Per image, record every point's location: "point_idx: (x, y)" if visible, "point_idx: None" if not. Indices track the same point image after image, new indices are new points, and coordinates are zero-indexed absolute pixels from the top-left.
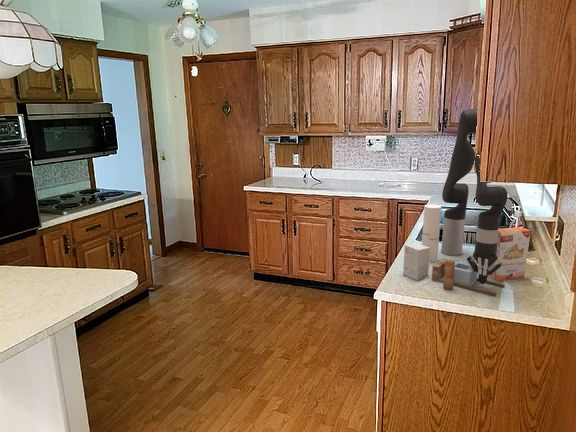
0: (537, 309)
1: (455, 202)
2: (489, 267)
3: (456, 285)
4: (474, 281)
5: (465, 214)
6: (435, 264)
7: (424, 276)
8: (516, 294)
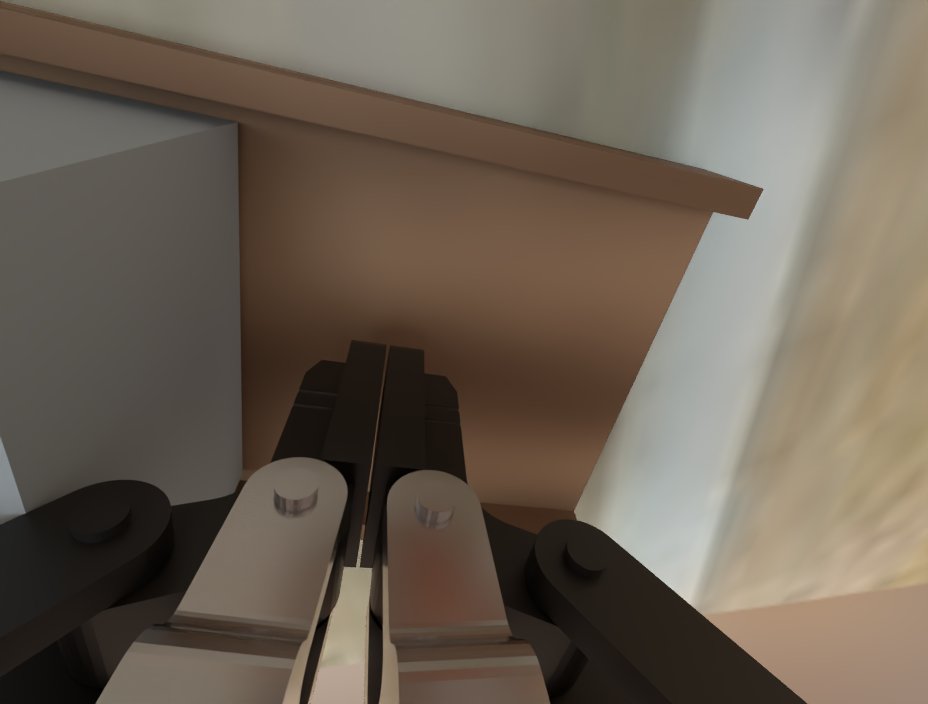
0: (904, 507)
1: None
2: (529, 655)
3: None
4: (225, 268)
5: None
6: None
7: None
8: (840, 250)
